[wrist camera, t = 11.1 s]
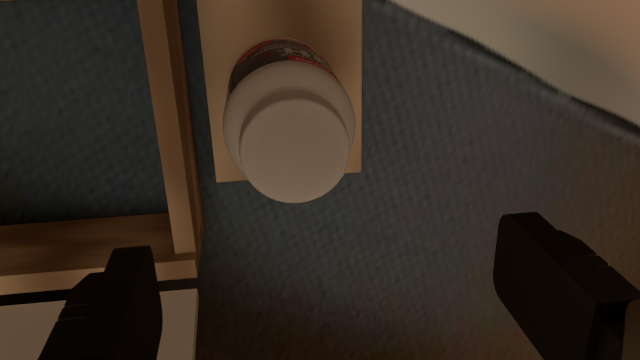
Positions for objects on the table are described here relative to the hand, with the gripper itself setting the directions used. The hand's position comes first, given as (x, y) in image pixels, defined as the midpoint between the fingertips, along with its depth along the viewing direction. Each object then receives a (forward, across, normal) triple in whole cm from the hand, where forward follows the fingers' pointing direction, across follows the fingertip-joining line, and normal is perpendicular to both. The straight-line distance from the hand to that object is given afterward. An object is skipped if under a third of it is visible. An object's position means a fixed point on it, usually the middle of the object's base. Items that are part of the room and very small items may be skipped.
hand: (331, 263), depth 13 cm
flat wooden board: (+18, 0, 0) cm, 18 cm away
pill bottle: (+17, 0, 0) cm, 17 cm away
